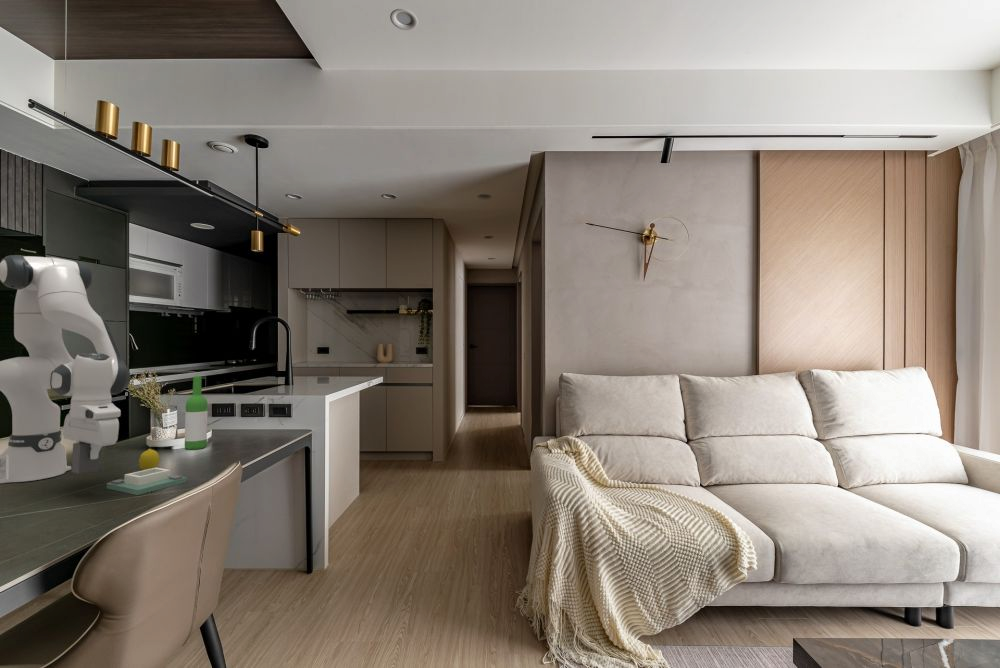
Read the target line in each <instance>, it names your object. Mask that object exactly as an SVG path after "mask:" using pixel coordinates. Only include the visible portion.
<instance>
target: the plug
mask: <svg viewBox="0 0 1000 668" xmlns="http://www.w3.org/2000/svg"><path fill="white" fill-rule="evenodd" d="M90 446H91V444H89V443H84V442H80V443H76V442H74V443H72V456H71V457H72V458H71V473H74V474H78V475H79V474H85V473H89V472H94V471H99V470H100V469H101V467H102V466H101V464H102V450H103V448H102V447H101V449H100V451H99V455H98V458H97V459H89V458H88V453H90V451H91V447H90Z"/></svg>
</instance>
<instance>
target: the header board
mask: <svg viewBox="0 0 1000 668" xmlns="http://www.w3.org/2000/svg"><path fill="white" fill-rule="evenodd" d="M123 475H124V479H122V478H121V479H119V478H118V479H115V480H112V481H110V482H108V483H106V489H108V490H113V491H115V492H116V491H117V492H121V493H126V494H131V495H134V496H135V495H136V496H141V495H144V494H148V493H151V491H152V492H154V491H158V490H162V489H165V488H171V487H173V486H177V485H181V484H185V483H187V477H186V476H183V475H178V474H177V475H175V474H171V469H166V468H162V467H161V468H160V467H156V468H152V469H147V470H139V471H134V472H131V473H125V474H123ZM147 492H148V493H147Z"/></svg>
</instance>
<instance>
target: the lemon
mask: <svg viewBox="0 0 1000 668" xmlns="http://www.w3.org/2000/svg"><path fill="white" fill-rule="evenodd" d="M138 465H139V468H140V469H141V471H143V470H147V469H152V468H158V466H159V465H160V455H159V453H158V451H156V450H155V449H152V448H148V449H147V450H145V451H143V452H142V453H141V454H140V456H139V460H138Z"/></svg>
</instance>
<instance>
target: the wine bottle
mask: <svg viewBox="0 0 1000 668" xmlns="http://www.w3.org/2000/svg"><path fill="white" fill-rule="evenodd" d="M202 377H203V376H202V375H194V376H193V377H192V378H193V380H192V395H191V396H190V397H189V398H188V399H187V400H186V402H185V412H184V413H185V415H184V419H185V420H184V449H186V450H188V451H190V450H192V451H193V450H200V449H202V450H203V449H204V448H206V447H207V444H208V443H207V441H208V400H207V398H206V397H205V396H203V395H202V382H203V381H202Z"/></svg>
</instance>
